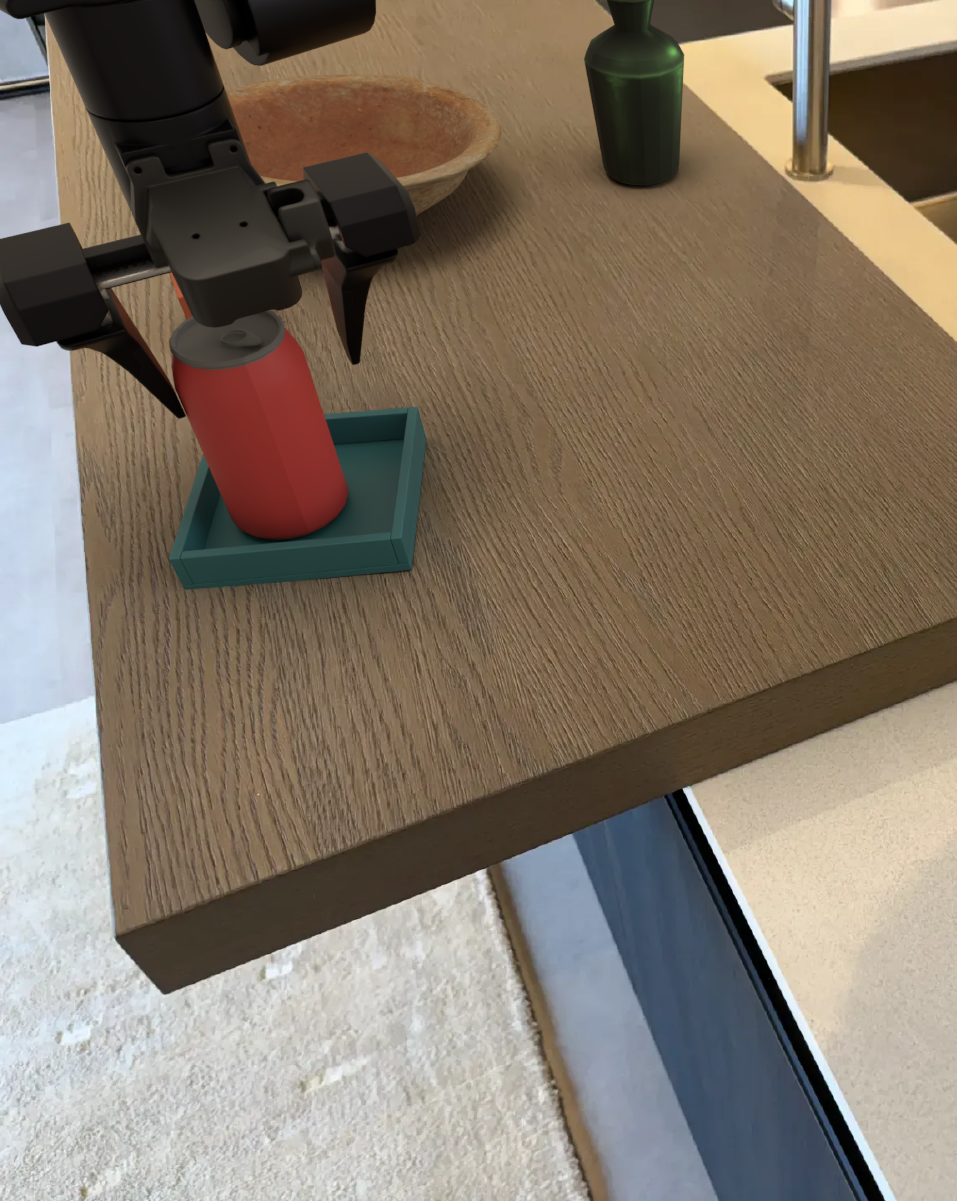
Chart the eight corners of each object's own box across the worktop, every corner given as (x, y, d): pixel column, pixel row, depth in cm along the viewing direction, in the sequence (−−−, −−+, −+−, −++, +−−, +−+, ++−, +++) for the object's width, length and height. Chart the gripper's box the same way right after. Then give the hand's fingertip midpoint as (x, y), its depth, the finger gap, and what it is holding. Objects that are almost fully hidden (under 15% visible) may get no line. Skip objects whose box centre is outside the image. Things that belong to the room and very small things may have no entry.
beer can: (306, 558, 64) (239, 381, 55) (208, 529, 65) (127, 352, 57) (373, 487, 68) (320, 313, 60) (280, 461, 70) (215, 288, 61)
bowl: (549, 250, 90) (536, 152, 84) (232, 316, 82) (193, 212, 76) (466, 130, 104) (450, 39, 98) (189, 176, 96) (154, 80, 90)
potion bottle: (706, 177, 98) (700, -53, 85) (622, 199, 95) (604, -36, 82) (659, 141, 103) (647, -83, 90) (578, 161, 99) (553, -68, 87)
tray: (185, 592, 63) (167, 559, 61) (227, 454, 71) (212, 422, 69) (411, 570, 64) (401, 537, 62) (426, 437, 73) (417, 406, 71)
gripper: (-64, 225, 42) (114, 535, 53) (423, 114, 49) (489, 407, 60) (-92, 115, 48) (73, 413, 60) (343, 32, 56) (416, 311, 67)
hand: (269, 386), depth 61 cm, fingers open, 9 cm apart
